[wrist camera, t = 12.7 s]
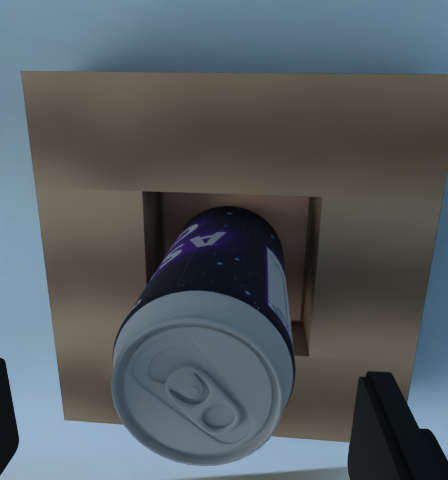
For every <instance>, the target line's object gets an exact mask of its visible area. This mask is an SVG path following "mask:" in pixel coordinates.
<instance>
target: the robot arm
mask: <svg viewBox="0 0 448 480" xmlns="http://www.w3.org/2000/svg"><path fill="white" fill-rule="evenodd" d="M18 444H19V435H18V430H17V424H16V419H15V413H14V407H13V402H12V396H11V391H10V385H9V380H8V374H7V368H6V363H5V360H4V359H2V358H0V475H1V474H2V472H3V471H4V469H5V468H6V466H7V465H8V463H9V462H10V460H11V459H12V457H13V456H14V454H15V452H16V450H17V448H18ZM348 473H349V477H350V480H448V460H447V459H446V457H445V455H444V453H443V451H442V449H441V447H440V445H439V443H438V441H437V440H436V438H435V436H434V435H433V433H432V432H431V431H430V430H429V429H419V427H418V425H417V423H416V421H415V419H414V417H413V415H412V413H411V411H410V409H409V407H408V405H407V403H406V401H405V398H404V396H403V394H402V392H401V390H400V388H399V386H398V384H397V382H396V380H395V378H394V376H393V374H392V373H391V372H379V371H368V372H367V373H366V377H361V376H360V377H359V379H358V385H357V393H356V400H355V408H354V415H353V423H352V430H351V438H350V445H349V453H348Z"/></svg>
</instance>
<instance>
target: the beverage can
mask: <svg viewBox="0 0 448 480" xmlns="http://www.w3.org/2000/svg"><path fill="white" fill-rule="evenodd" d="M295 374H296V368H295V358H294V348H293V339H292V330H291V321H290V312H289V302H288V293H287V284H286V275H285V265H284V256H283V249H282V245H281V242H280V239H279V237H278V235H277V233H276V232H275V230H274V229H273V227H272V226H271V225H270V224H269V223H268V222H267V221H266V220H265V219H264V218H262V217H261V216H260V215H258V214H256V213H254V212H252V211H250V210H248V209H245V208H241V207H236V206H219V207H214V208H211V209H208V210H205V211H203V212H201V213H200V214H198V215H196V216H195V217H194V218H192V219H191V220H190V221H189V222H188V223H187V224H186V226H185V227H184V229H183V230H182V232H181V233H180V235H179V236H178V238H177V239H176V241H175V242H174V244H173V246H172V247H171V249H170V250H169V252H168V253H167V255H166V256H165V258H164V260H163V261H162V263H161V264H160V266H159V267H158V269H157V270H156V272H155V274H154V275H153V277H152V278H151V280H150V281H149V283H148V284H147V286H146V288H145V289H144V291H143V292H142V294H141V295H140V297H139V298H138V300H137V302H136V303H135V305H134V306H133V308H132V309H131V311H130V312H129V314H128V316H127V317H126V319H125V320H124V322H123V323H122V325H121V327H120V329H119V331H118V333H117V336H116V339H115V342H114V347H113V373H112V380H111V390H112V398H113V402H114V406H115V409H116V411H117V413H118V416H119V418H120V419H121V421H122V423H123V424H124V426H125V427H126V429H127V430H128V431H129V432H130V433H131V434H132V436H133V437H134V438H136V439H137V440H138V441H139V442H140V443H141V444H142V445H144V446H145V447H147V448H148V449H150V450H151V451H153V452H154V453H156V454H158V455H160V456H162V457H164V458H167V459H170V460H173V461H175V462H179V463H184V464H188V465H197V466H215V465H221V464H227V463H230V462H234V461H237V460H240V459H242V458H244V457H246V456H248V455H250V454H252V453H253V452H255V451H256V450H258V449H259V448H260V447H261V446H262V445H263V444H265V443H266V442H267V441H268V440H269V438H270V437H271V435H272V434H273V433H274V431H275V430H276V428H277V426H278V424H279V422H280V419H281V416H282V412H283V410H284V408H285V406H286V405H287V403H288V401H289V399H290V397H291V394H292V391H293V387H294V383H295Z"/></svg>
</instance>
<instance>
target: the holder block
mask: <svg viewBox="0 0 448 480" xmlns="http://www.w3.org/2000/svg"><path fill="white" fill-rule="evenodd" d="M21 76H22V84H23V92H24V100H25V108H26V116H27V124H28V132H29V140H30V148H31V156H32V164H33V172H34V180H35V188H36V196H37V204H38V212H39V220H40V228H41V236H42V244H43V252H44V260H45V268H46V276H47V284H48V292H49V300H50V308H51V316H52V324H53V332H54V340H55V348H56V356H57V364H58V372H59V380H60V388H61V396H62V404H63V412H64V420H72V421H85V422H97V423H110V424H123V423H122V421H121V419H120V418H119V416H118V413H117V411H116V409H115V406H114V402H113V398H112V390H111V380H112V373H113V347H114V342H115V339H116V336H117V333H118V331H119V329H120V327H121V325H122V323H123V322H124V320H125V319H126V317H127V316H128V314H129V312H130V311H131V309H132V308H133V306H134V305H135V303H136V302H137V300H138V298H139V297H140V295H141V294H142V292H143V291H144V289H145V288H146V286H147V284H148V283H149V281H150V280H151V278H152V277H153V275H154V274H155V272H156V270H157V269H158V267H159V266H160V264H161V263H162V261H163V260H164V258H165V256H166V255H167V253H168V252H169V250H170V249H171V247H172V246H173V244H174V242H175V241H176V239H177V238H178V236H179V235H180V233H181V232H182V230H183V229H184V227H185V226H186V224H187V223H188V222H189V221H190V220H191V219H192V218H194V217H195V216H196V215H198V214H200V213H201V212H203V211H205V210H208V209H211V208H214V207H219V206H236V207H241V208H245V209H248V210H250V211H252V212H254V213H256V214H258V215H260V216H261V217H262V218H264V219H265V220H266V221H267V222H268V223H269V224H270V225H271V226H272V227H273V229H274V230H275V232H276V233H277V235H278V237H279V239H280V242H281V245H282V249H283V256H284V265H285V275H286V284H287V293H288V302H289V312H290V321H291V330H292V339H293V348H294V358H295V368H296V374H295V383H294V387H293V391H292V394H291V397H290V399H289V401H288V403H287V405H286V406H285V408H284V410H283V412H282V416H281V419H280V422H279V424H278V426H277V428H276V430H275V431H274V433H273V434H272V435H271V436H276V437H288V438H301V439H314V440H327V441H339V442H350V438H351V430H352V423H353V415H354V408H355V400H356V393H357V385H358V379H359V377H360V376H361V377H366V373H367V372H368V371H379V372H391V373H392V374H393V376H394V378H395V380H396V382H397V384H398V386H399V388H400V390H401V392H402V394H403V396H404V398H405V401H406V403H407V400H408V394H409V388H410V383H411V377H412V371H413V366H414V360H415V354H416V348H417V343H418V337H419V331H420V325H421V320H422V314H423V308H424V302H425V297H426V291H427V285H428V280H429V274H430V268H431V262H432V257H433V251H434V245H435V239H436V234H437V228H438V222H439V216H440V211H441V205H442V199H443V193H444V188H445V182H446V176H447V171H448V75H437V74H315V73H193V72H71V71H21ZM123 425H124V424H123Z"/></svg>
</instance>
